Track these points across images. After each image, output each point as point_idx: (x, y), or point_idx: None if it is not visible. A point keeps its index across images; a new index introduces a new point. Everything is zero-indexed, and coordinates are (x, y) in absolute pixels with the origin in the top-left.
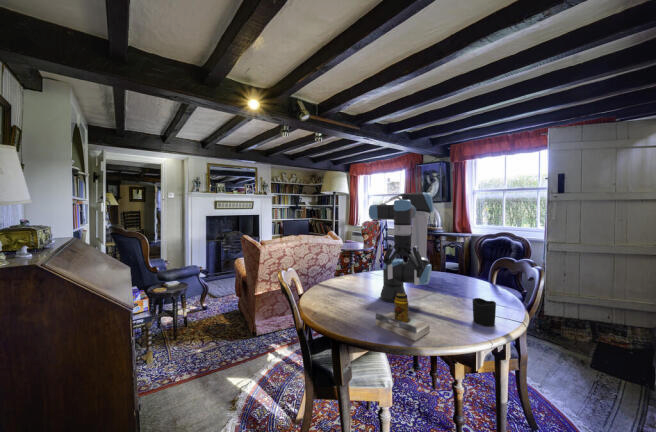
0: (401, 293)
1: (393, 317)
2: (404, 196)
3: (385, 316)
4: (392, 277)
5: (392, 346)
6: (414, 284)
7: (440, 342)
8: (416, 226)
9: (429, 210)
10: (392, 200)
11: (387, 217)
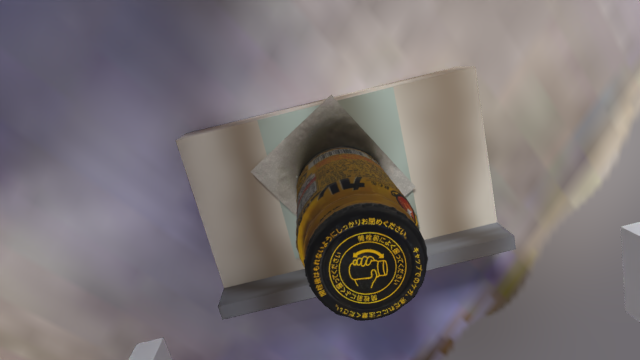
0: (338, 238)
1: (266, 191)
2: None
3: (295, 294)
4: (159, 346)
5: (452, 342)
6: (632, 316)
7: (568, 120)
8: None
9: None
10: None
11: None
